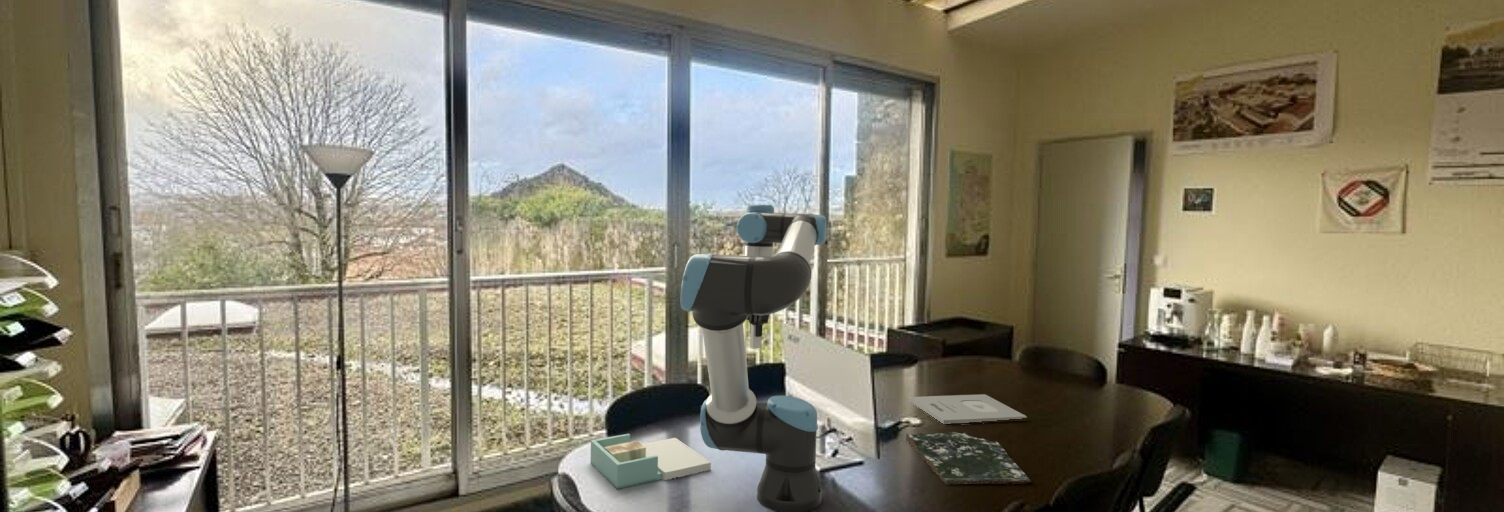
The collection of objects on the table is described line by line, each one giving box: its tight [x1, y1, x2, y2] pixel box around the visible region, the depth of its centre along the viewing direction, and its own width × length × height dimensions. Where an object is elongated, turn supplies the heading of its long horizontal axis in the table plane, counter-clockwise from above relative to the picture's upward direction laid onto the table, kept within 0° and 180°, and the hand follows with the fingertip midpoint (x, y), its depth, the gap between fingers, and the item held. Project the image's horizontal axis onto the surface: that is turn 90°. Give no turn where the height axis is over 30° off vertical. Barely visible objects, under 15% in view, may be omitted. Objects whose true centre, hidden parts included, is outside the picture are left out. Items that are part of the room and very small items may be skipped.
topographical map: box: [905, 431, 1032, 486], centre depth 183 cm, size 26×33×3 cm
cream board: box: [641, 437, 712, 481], centre depth 175 cm, size 20×13×2 cm, turn 34°
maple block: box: [604, 440, 646, 463], centre depth 168 cm, size 6×6×9 cm
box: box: [590, 433, 662, 490], centre depth 167 cm, size 18×12×6 cm, turn 34°
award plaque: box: [908, 393, 1028, 424], centre depth 226 cm, size 25×30×2 cm
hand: (755, 347), depth 180 cm, fingers closed
